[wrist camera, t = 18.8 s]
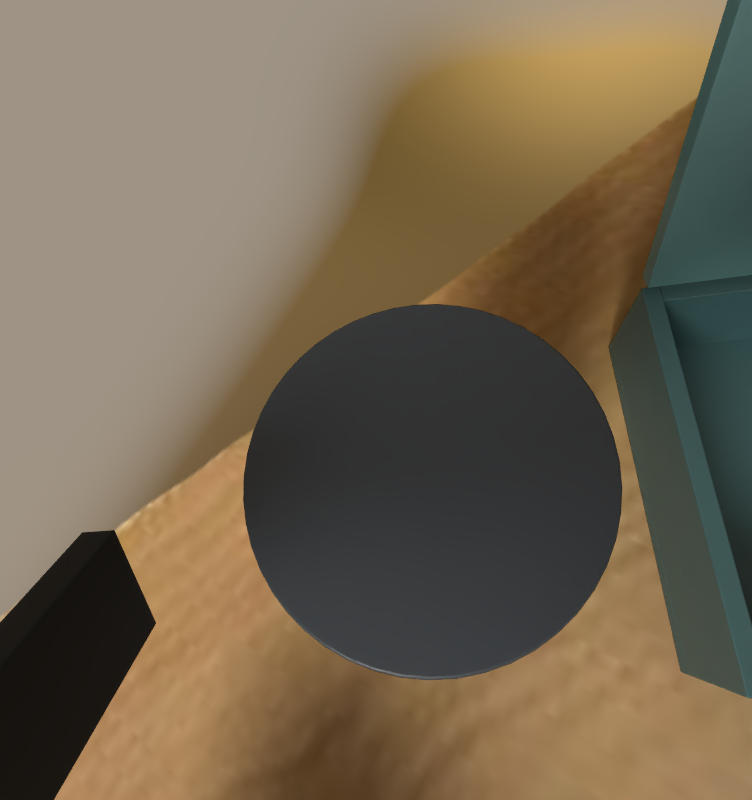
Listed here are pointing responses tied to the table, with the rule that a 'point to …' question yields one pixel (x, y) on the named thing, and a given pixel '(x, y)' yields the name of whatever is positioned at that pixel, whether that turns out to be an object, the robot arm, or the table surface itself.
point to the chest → (696, 462)
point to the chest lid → (712, 170)
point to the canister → (432, 492)
